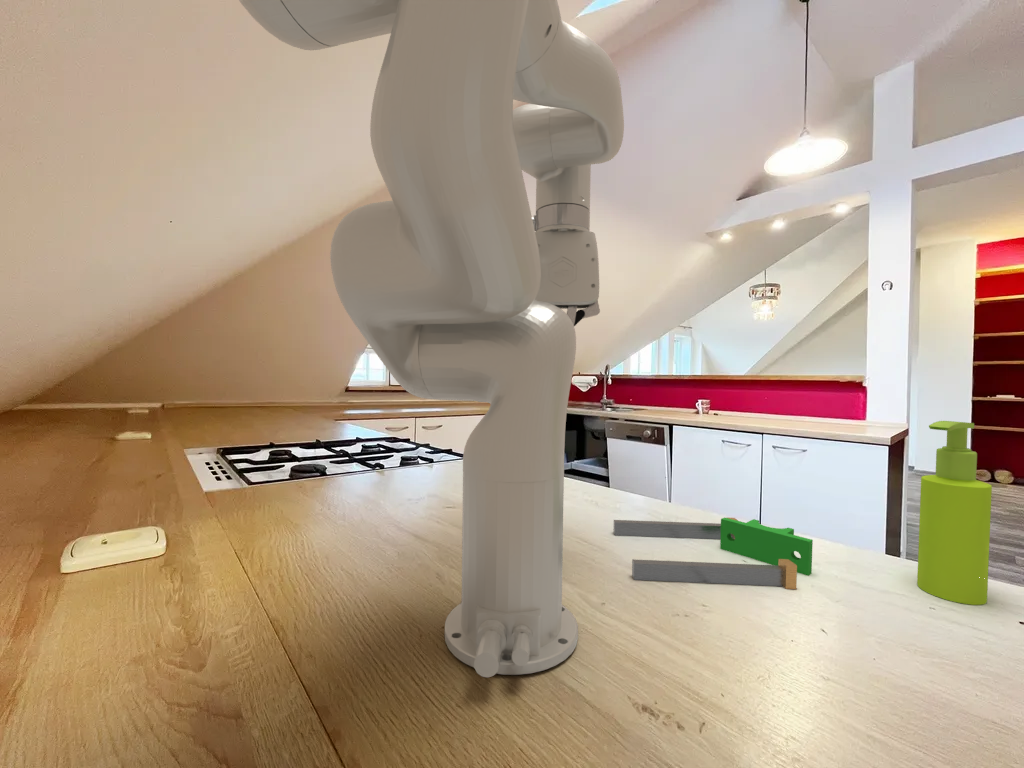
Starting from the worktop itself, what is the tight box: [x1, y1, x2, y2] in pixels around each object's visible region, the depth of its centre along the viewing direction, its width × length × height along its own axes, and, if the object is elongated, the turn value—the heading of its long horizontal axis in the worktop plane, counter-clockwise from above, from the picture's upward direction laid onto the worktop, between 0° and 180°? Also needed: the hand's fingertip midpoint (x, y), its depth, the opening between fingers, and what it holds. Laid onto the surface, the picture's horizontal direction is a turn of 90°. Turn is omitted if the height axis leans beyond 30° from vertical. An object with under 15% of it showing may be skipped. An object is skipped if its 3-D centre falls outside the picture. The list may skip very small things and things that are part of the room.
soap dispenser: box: [916, 420, 993, 606], centre depth 53 cm, size 6×7×20 cm
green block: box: [719, 517, 814, 577], centre depth 63 cm, size 11×4×5 cm, turn 40°
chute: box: [613, 517, 798, 590], centre depth 63 cm, size 18×19×3 cm
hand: (560, 357), depth 64 cm, fingers closed
